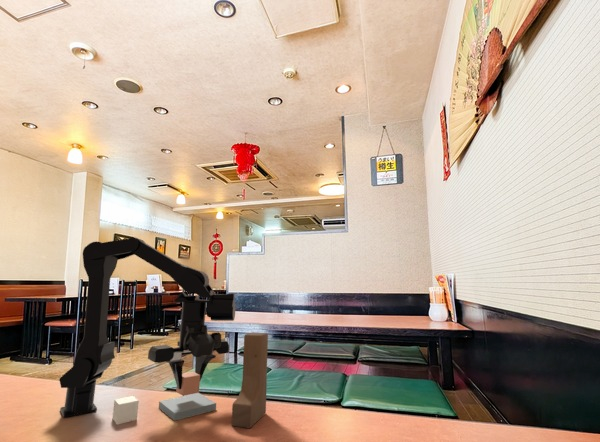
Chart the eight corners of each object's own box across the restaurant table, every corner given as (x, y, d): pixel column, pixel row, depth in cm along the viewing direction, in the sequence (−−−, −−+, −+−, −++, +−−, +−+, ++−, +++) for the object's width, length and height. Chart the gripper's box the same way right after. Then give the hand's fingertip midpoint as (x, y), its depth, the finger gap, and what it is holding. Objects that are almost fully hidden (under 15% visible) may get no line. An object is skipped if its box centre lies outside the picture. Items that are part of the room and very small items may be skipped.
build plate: (158, 407, 79) (159, 401, 79) (197, 398, 86) (198, 392, 86) (174, 420, 72) (174, 413, 72) (215, 409, 78) (216, 403, 79)
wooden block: (250, 429, 68) (253, 338, 71) (230, 426, 69) (234, 337, 73) (266, 413, 76) (268, 332, 80) (248, 411, 78) (251, 332, 81)
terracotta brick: (176, 391, 80) (177, 374, 80) (191, 388, 82) (193, 371, 83) (182, 395, 77) (184, 377, 78) (198, 392, 79) (200, 374, 80)
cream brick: (112, 419, 73) (114, 399, 73) (131, 414, 75) (133, 395, 76) (116, 424, 70) (118, 404, 70) (136, 420, 72) (138, 400, 73)
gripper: (167, 326, 71) (160, 405, 68) (241, 321, 83) (238, 387, 80) (150, 321, 79) (143, 391, 76) (220, 317, 91) (217, 377, 88)
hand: (188, 387), depth 80 cm, fingers closed on terracotta brick, 4 cm apart
